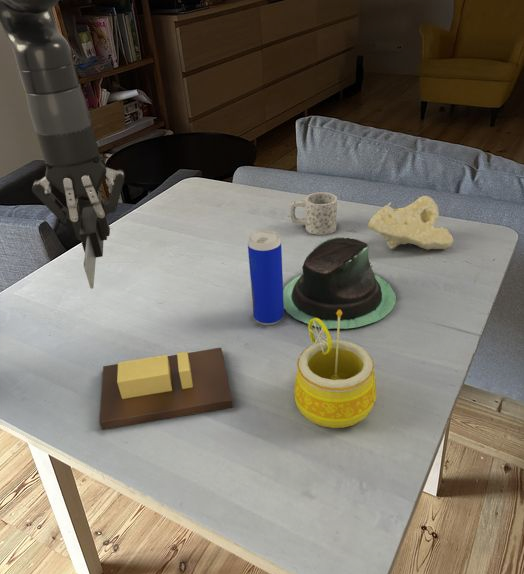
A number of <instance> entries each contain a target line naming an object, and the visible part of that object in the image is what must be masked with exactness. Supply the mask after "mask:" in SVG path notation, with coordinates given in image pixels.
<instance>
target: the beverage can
mask: <svg viewBox="0 0 524 574" xmlns="http://www.w3.org/2000/svg"><path fill="white" fill-rule="evenodd" d="M247 241H248V242H247V251H248V252H247V253H248V265H249V278H250V290H251V301H252V302H251V303H252V313H253V318H254V320H255V321H256V322H257V323H259V324H260V325H265V326H272V325H273V326H274V325H277V324H278V323H280V322H281V321H282V319H284V316H285V308H284V300H283V290H284V278H283V253H282V239H281V238H280V234H279V233H278V232H276V231H274V230H269V229H263V230H262V229H261V230H257V231H254V232H252V233H251V234H249V237H248V240H247Z"/></svg>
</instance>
